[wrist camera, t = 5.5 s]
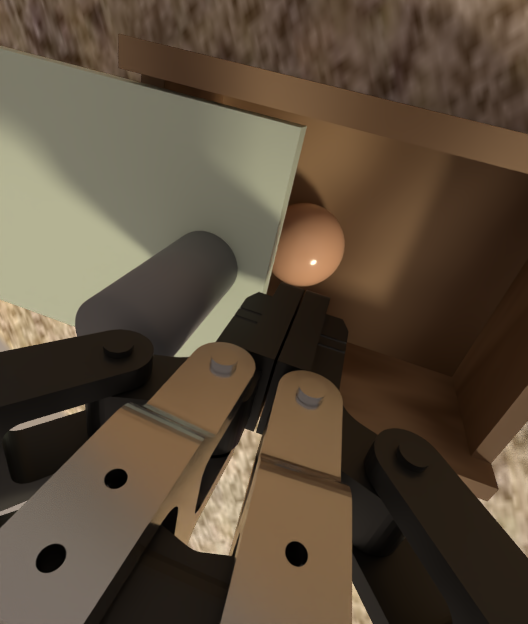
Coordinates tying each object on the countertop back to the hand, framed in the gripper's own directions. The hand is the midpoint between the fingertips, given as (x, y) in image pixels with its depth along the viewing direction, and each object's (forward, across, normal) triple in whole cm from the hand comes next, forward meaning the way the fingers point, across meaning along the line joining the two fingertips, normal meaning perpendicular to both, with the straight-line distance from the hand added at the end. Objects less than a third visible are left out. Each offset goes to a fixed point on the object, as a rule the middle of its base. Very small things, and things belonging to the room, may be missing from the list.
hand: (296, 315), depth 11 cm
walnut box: (+9, -1, 0) cm, 9 cm away
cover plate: (+3, +9, 0) cm, 9 cm away
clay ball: (+8, +1, 0) cm, 8 cm away
